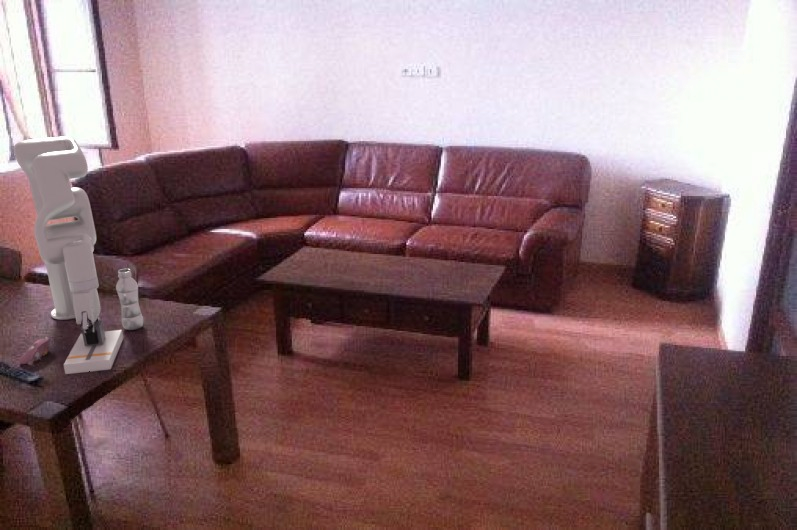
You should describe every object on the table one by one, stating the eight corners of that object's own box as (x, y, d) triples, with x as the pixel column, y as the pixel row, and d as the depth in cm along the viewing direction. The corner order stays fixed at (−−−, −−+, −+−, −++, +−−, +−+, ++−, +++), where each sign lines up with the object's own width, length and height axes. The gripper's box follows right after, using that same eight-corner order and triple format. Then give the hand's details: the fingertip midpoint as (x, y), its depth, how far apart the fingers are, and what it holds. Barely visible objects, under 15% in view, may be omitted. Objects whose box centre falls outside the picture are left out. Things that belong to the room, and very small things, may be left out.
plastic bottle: (134, 322, 213) (124, 265, 206) (149, 326, 210) (139, 269, 203) (118, 330, 208) (107, 272, 201) (133, 334, 205) (123, 275, 198)
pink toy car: (30, 370, 187) (35, 352, 184) (16, 363, 187) (21, 344, 184) (53, 354, 196) (59, 336, 193) (40, 347, 196) (45, 329, 193)
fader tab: (87, 340, 194) (84, 322, 192) (105, 338, 195) (102, 320, 192) (84, 346, 190) (81, 327, 188) (102, 344, 191) (99, 326, 189)
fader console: (82, 342, 200) (80, 333, 199) (123, 338, 202) (121, 329, 201) (65, 374, 181) (63, 364, 180) (110, 369, 184) (108, 359, 183)
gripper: (77, 274, 193) (87, 329, 199) (62, 295, 177) (74, 354, 184) (103, 272, 194) (113, 327, 200) (91, 293, 179) (102, 351, 185)
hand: (94, 339), depth 192 cm, fingers closed on fader tab, 4 cm apart
